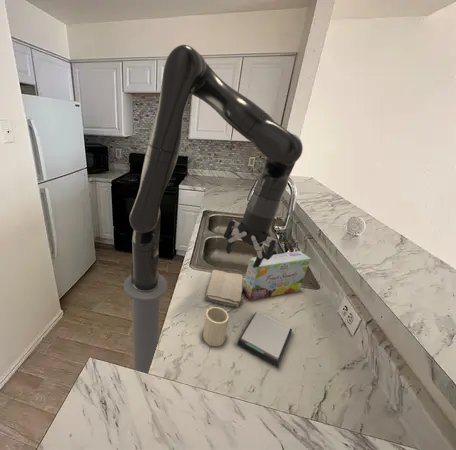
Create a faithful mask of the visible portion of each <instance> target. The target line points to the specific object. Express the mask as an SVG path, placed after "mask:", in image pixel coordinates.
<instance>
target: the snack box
mask: <svg viewBox="0 0 456 450" xmlns="http://www.w3.org/2000/svg"><path fill="white" fill-rule="evenodd" d="M256 258H257V256H255V257H250V258H249V260H248V264H247V265H248V266H247V269H246V273H245V277H244V282H243V285H242V293H243V294H244V296H245V297H246V298H247V299H248V300H249V301H253V300H258V299H259V300H260V299H263V298H269V297H274V296H280V295H287V294H291V293H292V294H293V293H297V292H300V290H301V287H302V284H303V281H304V278H305V275H306V273H307V271H308V268H309V265H310V263H311V256H310V257H309V256H308V255H307V254H305V253H304V252H303V251H301V250H297V251H291V252H283V253H277V254H273V256H272V257H271V258H270V259H269V260H267V259H264V258H263V260H262V263H261V265H260V266H259V267H256V268H254V267H253V265H254V263H255V260H256Z"/></svg>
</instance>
